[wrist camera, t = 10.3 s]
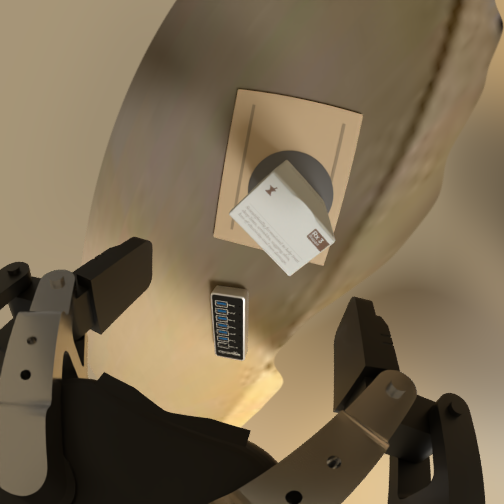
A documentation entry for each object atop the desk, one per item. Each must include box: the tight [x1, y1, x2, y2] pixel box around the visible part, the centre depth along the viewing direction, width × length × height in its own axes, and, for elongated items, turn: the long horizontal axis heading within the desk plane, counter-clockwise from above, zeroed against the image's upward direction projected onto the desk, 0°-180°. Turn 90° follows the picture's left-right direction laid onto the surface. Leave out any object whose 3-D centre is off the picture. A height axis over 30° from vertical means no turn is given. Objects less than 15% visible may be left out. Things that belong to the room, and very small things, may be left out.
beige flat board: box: [214, 89, 363, 265], centre depth 28 cm, size 17×13×1 cm
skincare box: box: [229, 160, 335, 276], centre depth 22 cm, size 6×4×12 cm
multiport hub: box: [211, 285, 249, 361], centre depth 36 cm, size 4×11×2 cm, turn 179°
